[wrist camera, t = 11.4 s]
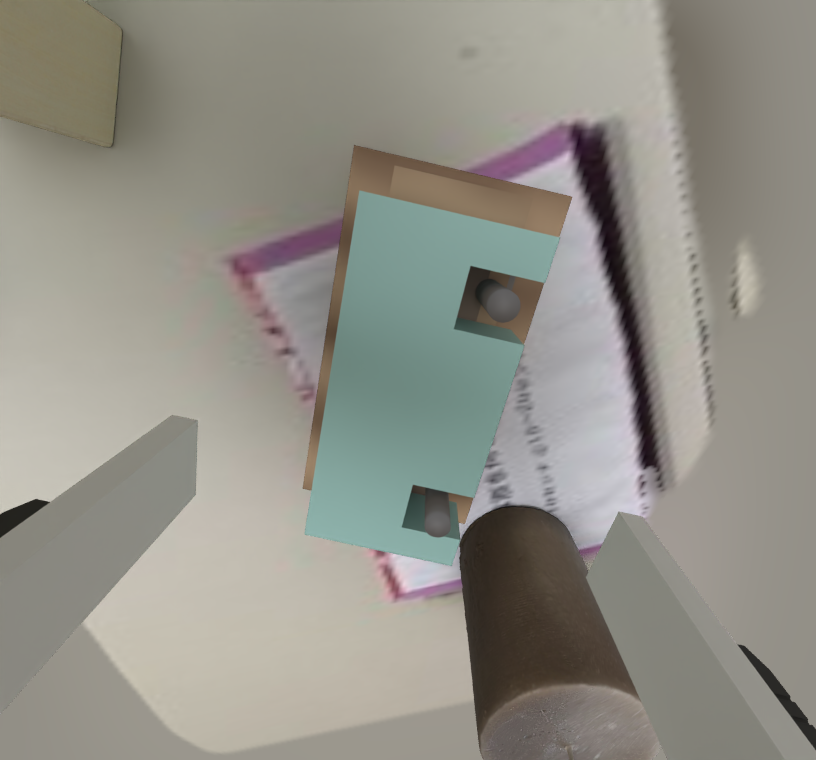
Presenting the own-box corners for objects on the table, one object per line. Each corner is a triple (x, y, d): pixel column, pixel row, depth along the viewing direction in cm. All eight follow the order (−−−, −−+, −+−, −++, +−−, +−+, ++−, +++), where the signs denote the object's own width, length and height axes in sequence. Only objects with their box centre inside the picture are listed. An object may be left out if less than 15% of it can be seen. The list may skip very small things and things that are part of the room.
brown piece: (358, 150, 24) (313, 95, 15) (564, 199, 25) (646, 175, 15) (308, 477, 32) (258, 575, 23) (463, 511, 33) (476, 621, 23)
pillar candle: (437, 535, 34) (443, 752, 20) (543, 485, 31) (634, 690, 17) (493, 609, 36) (533, 847, 22) (594, 568, 34) (710, 803, 20)
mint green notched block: (370, 198, 21) (359, 190, 17) (539, 237, 21) (560, 237, 17) (319, 498, 27) (304, 534, 24) (449, 526, 27) (451, 565, 24)
